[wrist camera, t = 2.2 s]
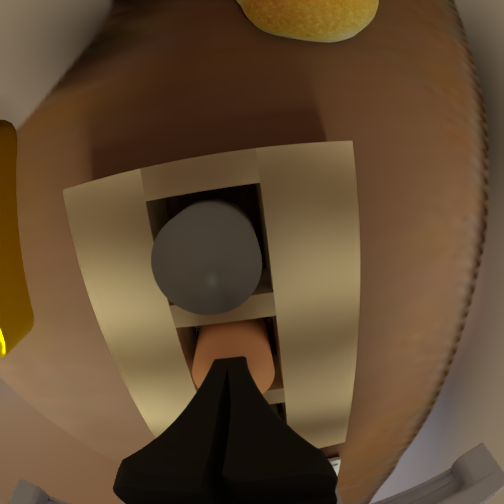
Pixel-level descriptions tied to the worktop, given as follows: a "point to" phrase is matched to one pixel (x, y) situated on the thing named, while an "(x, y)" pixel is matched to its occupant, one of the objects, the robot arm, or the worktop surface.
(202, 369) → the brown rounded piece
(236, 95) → the worktop surface
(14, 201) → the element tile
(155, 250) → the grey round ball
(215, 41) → the worktop surface
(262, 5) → the bread roll
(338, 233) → the button panel
